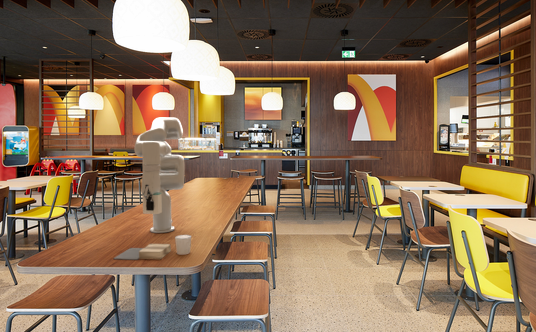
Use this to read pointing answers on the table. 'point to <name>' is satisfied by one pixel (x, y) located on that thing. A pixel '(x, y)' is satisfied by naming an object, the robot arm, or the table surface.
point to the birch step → (154, 251)
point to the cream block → (157, 204)
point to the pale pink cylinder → (183, 244)
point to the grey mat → (129, 254)
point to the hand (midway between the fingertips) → (152, 208)
